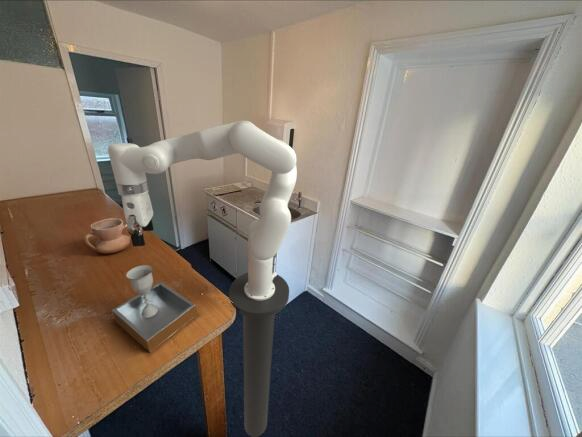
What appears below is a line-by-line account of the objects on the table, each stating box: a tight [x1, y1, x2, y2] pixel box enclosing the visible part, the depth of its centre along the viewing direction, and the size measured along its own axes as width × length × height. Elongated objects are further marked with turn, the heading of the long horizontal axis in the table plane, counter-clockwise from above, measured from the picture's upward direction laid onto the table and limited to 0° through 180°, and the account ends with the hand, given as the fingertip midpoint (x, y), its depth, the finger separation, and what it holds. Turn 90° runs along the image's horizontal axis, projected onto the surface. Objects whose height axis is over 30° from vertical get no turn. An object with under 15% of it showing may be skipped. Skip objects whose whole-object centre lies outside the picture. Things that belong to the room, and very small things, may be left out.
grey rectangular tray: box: [111, 281, 198, 353], centre depth 80 cm, size 17×20×5 cm
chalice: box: [125, 264, 158, 318], centre depth 79 cm, size 7×7×18 cm
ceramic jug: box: [84, 217, 131, 255], centre depth 112 cm, size 18×14×14 cm
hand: (144, 237), depth 75 cm, fingers open, 9 cm apart
